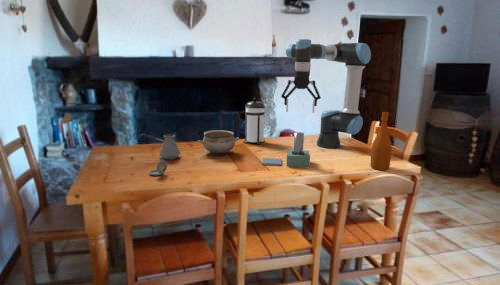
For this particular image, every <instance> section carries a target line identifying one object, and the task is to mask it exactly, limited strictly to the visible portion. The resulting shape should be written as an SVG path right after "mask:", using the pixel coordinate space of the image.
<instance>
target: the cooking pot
mask: <svg viewBox="0 0 500 285" xmlns="http://www.w3.org/2000/svg"><path fill="white" fill-rule="evenodd" d="M203 135H204V136H203V138H202V140H199V139H198V140H197V142H198V143H200V144H202V146H203V148H204V150H206V151H207V152H209V153H211V154H213V155H215V156H223V155H225V154H227V153H229V152H230V151H231V150H232V149H233V148H234V147H235V144H236V142H238V141H239V140H240V138H239V137H238V136H237V137H235V136H234V131H229V130H225V129H223V130H222V129H221V130H218V129H216V130H208V131H204V132H203Z"/></svg>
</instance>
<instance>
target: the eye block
mask: <svg viewBox="0 0 500 285" xmlns="http://www.w3.org/2000/svg"><path fill="white" fill-rule="evenodd" d="M293 154H294V149H287V150H286V167H287V166H296V167H295V168H306V167H309V168H310V167H311V166H310V164H311V156H310V155H311V154H310V150H303V155H293Z"/></svg>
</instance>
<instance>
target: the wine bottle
mask: <svg viewBox="0 0 500 285" xmlns="http://www.w3.org/2000/svg"><path fill="white" fill-rule="evenodd" d="M389 115H390V114H389V112H388V111H382V112H381V119H380V120H381V124H380V127H379V130H378V133H377V134H376V136H375V138H374V140H373V142H372V145H371V151H370V152H371V153H370V168H372V169H375V170H377V171H386V170H389V169H390V166H391V159H392V158H391V157H392V150H393V149H392V142H391V135H390V134H391V133H390V131H388V121H389Z"/></svg>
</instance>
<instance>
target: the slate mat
mask: <svg viewBox="0 0 500 285" xmlns="http://www.w3.org/2000/svg"><path fill="white" fill-rule="evenodd" d="M261 164H262V166H273V165H274V166H277V167H278V166H279V167H281V166H282V158H271V157H263V158H262V162H261Z"/></svg>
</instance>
